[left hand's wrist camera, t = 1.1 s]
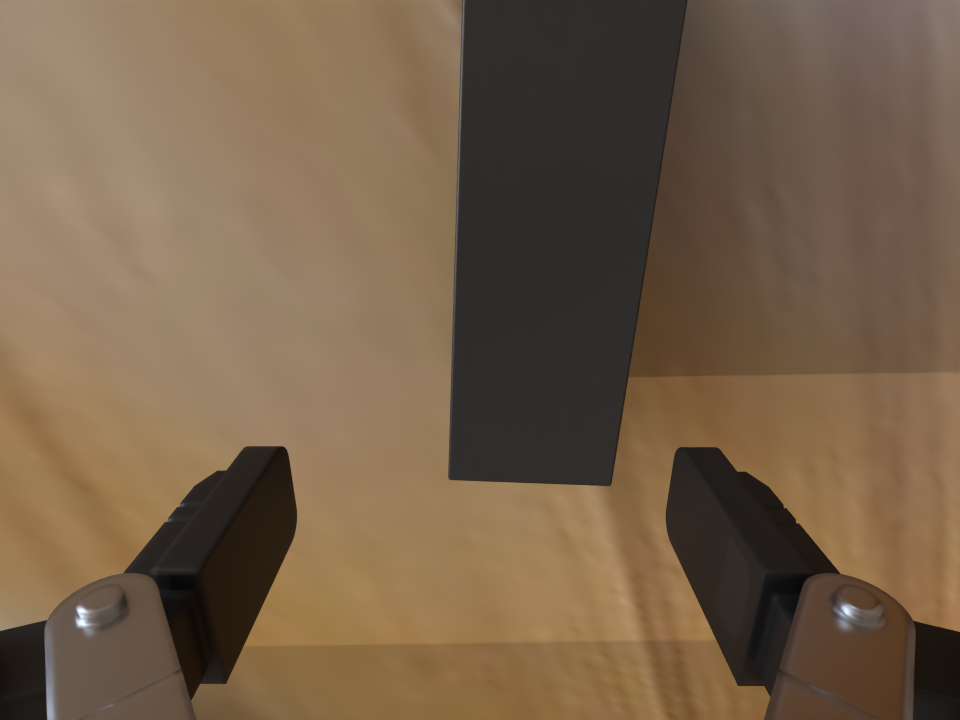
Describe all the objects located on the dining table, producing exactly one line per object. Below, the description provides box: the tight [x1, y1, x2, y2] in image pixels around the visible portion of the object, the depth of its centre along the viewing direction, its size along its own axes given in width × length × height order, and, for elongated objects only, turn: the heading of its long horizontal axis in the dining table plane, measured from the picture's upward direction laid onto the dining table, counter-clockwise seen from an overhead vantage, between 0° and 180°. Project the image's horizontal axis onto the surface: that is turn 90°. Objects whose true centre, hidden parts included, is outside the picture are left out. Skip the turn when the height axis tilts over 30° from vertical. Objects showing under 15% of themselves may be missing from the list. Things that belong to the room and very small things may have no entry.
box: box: [448, 0, 687, 486], centre depth 22 cm, size 21×6×10 cm, turn 177°
